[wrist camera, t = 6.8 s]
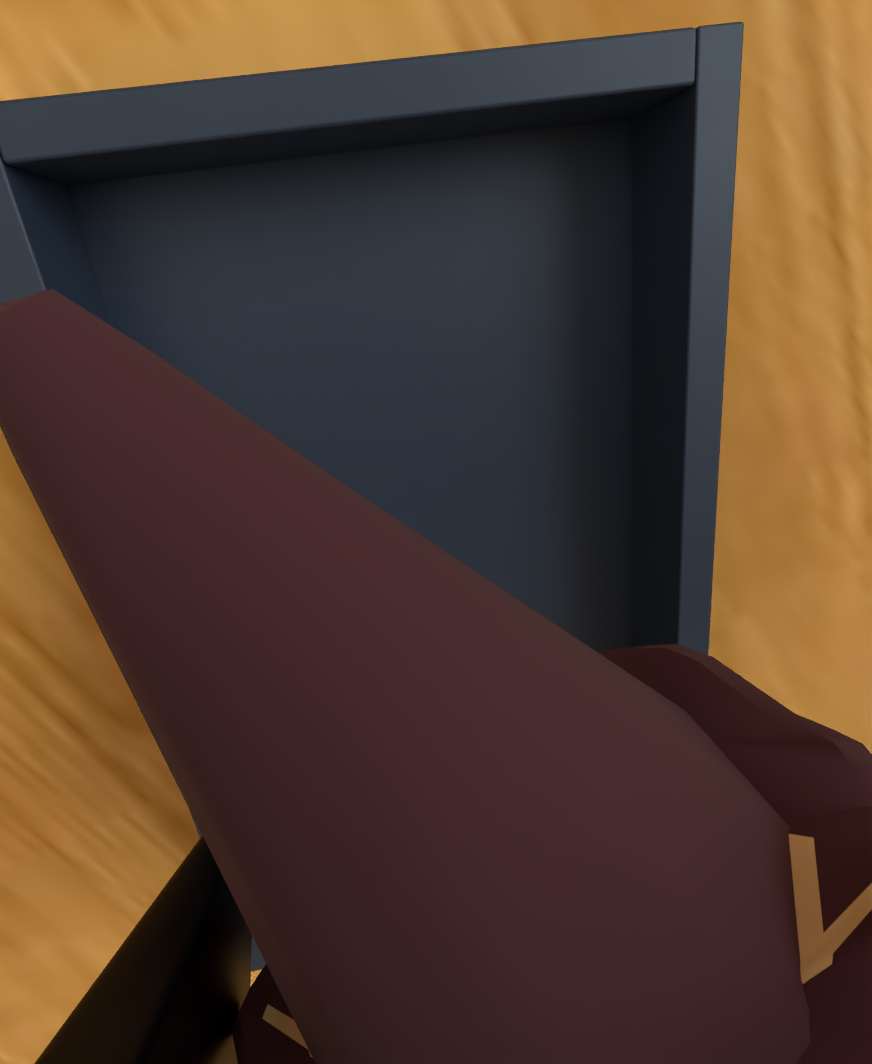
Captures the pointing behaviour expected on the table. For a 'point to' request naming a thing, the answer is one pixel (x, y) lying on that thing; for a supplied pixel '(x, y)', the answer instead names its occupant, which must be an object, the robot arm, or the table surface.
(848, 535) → the table surface
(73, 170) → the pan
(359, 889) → the icecream
